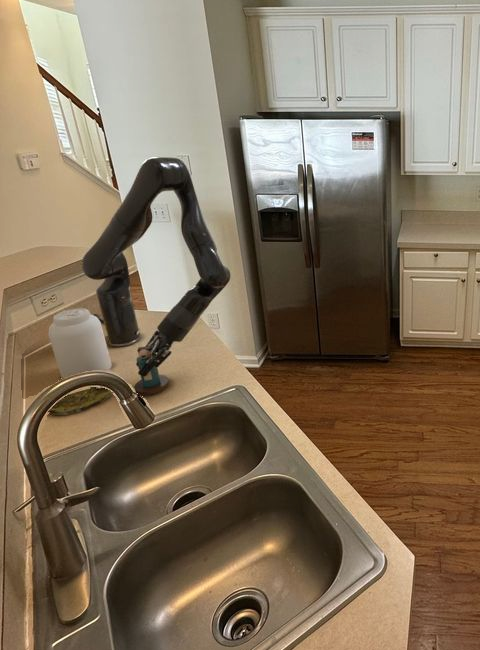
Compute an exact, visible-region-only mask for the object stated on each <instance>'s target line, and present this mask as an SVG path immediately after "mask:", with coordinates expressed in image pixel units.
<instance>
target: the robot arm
mask: <svg viewBox="0 0 480 650" xmlns="http://www.w3.org/2000/svg"><path fill="white" fill-rule="evenodd" d="M163 192H174V194H175V195H176V197H177V199H178V202H179V205H180V211H181V215H180V231H181V235H182V238H183V240H184V243H185V244H186V246H187V249H188V251H189V253H190V255H191V256H192V258H193V261H194V264H195V265H194V266H195V268H196V270H197V274H198V276H199V280H198V281H197V282H196V284H195V285H194V286H192V287H191V288H189V289H188V290H187V291H186V292H185V293H184V295H183V296H182V297H181V298H180V300H179V301H178V302H177V303H176V304H175V305H174V306H173V307H172V308H171V309H170V311H169V312H168V313H167V314H166V315H165V317H164V318H163V319H162V320H161V322H160V323H159V324H158V325H157V328H156V329H157V330H155V331H154V333H153V335H152V336H151V338H150V339H149V340H148V342H147V344H145V346H144V347H146V346H151V350H150V351H151V352H150V357H149V359H148V360H147V362H146V363H145V364H144V365H143V366H142V368H141V369H140V370H139V369H138V372H137V374H138V375H139V376H140V375H141V376H144V377H145V376H146V375H147V374H148V373H149V372H150V370H151V369H152V368H153V367H154V366H155V367H157V368H159V367H160V366H161V365H162V364H163V363H164V362H165V361H166V360H167V359H168V358H169V357H170V356H171V354H172V351H170V349H171V348H172V345H173V344H174V343H175V342H176V343H181V342H182V341H183V340H184V339H185V338H186V337H187V335H188V334H189V333H190V331H191V330H192V329H193V327H194V326H195V325H196V324H197V323H198V321H199V319H200V317H201V316H202V315H203V313H204V312H205V311H206V310H207V308H208V307H209V306H210V305H211V303H212V301H213V300H214V299H215V298H216V297H217V296H218V295H219V294H220V293H221V292H222V291H223V290H224V289H225V288H226V286H227V285H229V284H228V283H229V282H230V280H231V272H230V269H229V268H228V267H227V266H226V265H224V264H223V263H222V260H221V258H220V256H219V253H218V249H217V245H216V242H215V241H214V239H213V237H212V235H211V232H210V230H209V228H208V226H207V224H206V221H205V219H204V216H203V213H202V210H201V207H200V204H199V203H200V202H199V200H198V197H197V196H198V195H197V192H196V190H195V186H194V183H193V179H192V176H191V174H190V170H189V168H188V166H187V165H186V163H185V162H184V161H182V159H180V158H179V157H171V156H170V157H166V156H165V157H164V156H163V157H160V156H159V157H158V156H156V157H150V158H147V159H145V160H144V161H143V163H142V164H141V166H140V168H139V169H138V172H137V174H136V176H135V179H134V181H133V183H132V185H131V187H130V189H129V190H128V193H127V194H126V196H125V197H124V199H123V201H122V203H121V204H120V205H119V207H118V208H117V209H116V211H115V213H114V214H113V216H112V217H111V219H110V221H109V223H108V224H107V225H106V227H105V229H104V230H103V232H102V233H101V234H100V236H99V238H98V239H97V241H95V243H94V244H93V245H92V246H91V247H90V248H89V249H88V251H86V253H85V254H84V255H83V257H82V259H81V270H82V272H83V274H84V275H85V276H86V277H87V278H89V279H91V280H95V281H101V280H103V282H102V283H101V284H100V285H99V286H98V287H97V288H96V290H95V293H96V297H97V301H98V305H99V309H100V312H101V316H102V318H100V317H99V316H98V314H97V313H94V314H93V315H94V316H96V317H97V318H98V319H99V321H100V322H101V323H104V328H105V331H106V336H107V339H108V345H109V346H111V347H115V348H116V347H117V348H119V347H120V348H121V347H126V346H130V345H133V344H136V343H137V342H139V341H140V340H141V339H142V336H141V333H140V332H141V328H139V322H138V319H137V315H136V310H135V307H134V302H133V298H132V294H131V289H130V288H131V278H130V272H129V265H128V261H127V258H126V255H125V254H124V252H125V251H126V250H127V249H129V248H130V247H132V246H133V245H135V244H136V243H137V242H138V241H139V240H140V239H142V237H143V236H144V235H145V233H146V232H147V231H148V229H149V228H150V227H151V225H152V223H153V212H152V208H151V207H152V204H153V202H154V201H155V200H156V198H157V197H158V196H159V195H160V194H161V193H163ZM155 360H156V361H155ZM135 365H136V366H137V367H138V363H137V362H136V363H135ZM141 376H140V377H141Z"/></svg>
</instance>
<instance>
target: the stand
mask: <svg viewBox="0 0 480 650" xmlns="http://www.w3.org/2000/svg"><path fill="white" fill-rule="evenodd" d="M159 378H160V382H159V383H158V384H157V385H155V386H152V387H144V386H143V384H142V380H141V379H140V380H138V381H137V382H136V383H135V384H134V387H133V388H134V392H135V394H136V393H138V394H139V395H141V396H140V397H152V396H155V395H158V394H160V393H162V392H164V391H165V390H166V389H168V388H169V386H170V381H169V377H168V376H166V375H164V374H159ZM139 395H138V396H139Z"/></svg>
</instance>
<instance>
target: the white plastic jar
mask: <svg viewBox="0 0 480 650" xmlns="http://www.w3.org/2000/svg"><path fill="white" fill-rule="evenodd" d="M47 335H48V338H49V341H50V345H51V348H52V351H53V354H54V357H55V360H56V364H57V366H58V370H59V373H60V376H61V379H63V378H66V377H69V376H71V375H75V374H78V373H82V372H85V371H92V370H103V371H108V372H109V371H110V370H111V368H112V360H111V357H110V352H109V349H108V345H107V341H106V338H105V334H104V329H103V326H102V321H99V319H98V318H97V317H96V316H94V314H91V311H90V310H89V309H87V308H83V307H81V308H80V307H77V308H69V309H66V310H63V311H60V312H58V313H56V314H55V315H53V319H52V323H51V325H49V326H48V334H47Z"/></svg>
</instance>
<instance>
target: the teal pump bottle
mask: <svg viewBox="0 0 480 650" xmlns="http://www.w3.org/2000/svg"><path fill="white" fill-rule="evenodd" d="M145 346H146V345H145ZM145 346H140V347H138V348H137V353H138V357H137V358H136V363H138V366H137V368H138V371H139V370H140V369H141V368H142V366H143V365H144V364H145V363H146V362H147V360H148V359H149V357H150V352H151V351H150V350H151V346H146V347H145ZM155 361H156V360H155ZM159 375H160V374H159V369H158V367H155V366H154V367H153V368H152V369H151V370H150V372H149V373H148V374H147V375H146V376H145V377H144V376H141V375H139V376H140V380H142V384H143V386H144V387H152V386H155V385H157V384H158V383H159V382H160V378H159Z"/></svg>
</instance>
